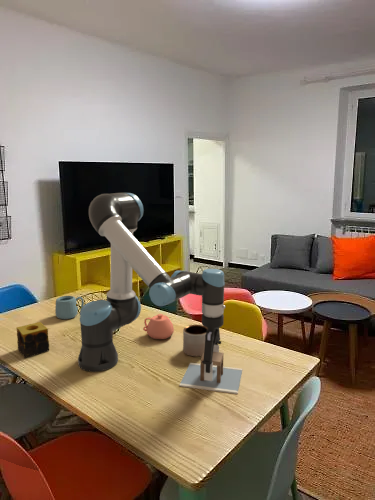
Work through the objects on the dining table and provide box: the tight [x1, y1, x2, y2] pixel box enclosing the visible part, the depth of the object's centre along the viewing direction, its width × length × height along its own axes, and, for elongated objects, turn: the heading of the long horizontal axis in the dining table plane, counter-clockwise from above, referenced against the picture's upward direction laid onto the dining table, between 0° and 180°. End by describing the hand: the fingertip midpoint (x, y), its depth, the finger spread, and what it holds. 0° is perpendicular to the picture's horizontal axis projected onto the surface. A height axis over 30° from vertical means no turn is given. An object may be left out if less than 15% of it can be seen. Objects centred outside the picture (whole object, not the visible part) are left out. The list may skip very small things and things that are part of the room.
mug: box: [54, 295, 85, 320], centre depth 194 cm, size 15×11×10 cm
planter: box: [182, 324, 207, 358], centre depth 154 cm, size 11×11×10 cm
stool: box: [200, 351, 225, 383], centre depth 134 cm, size 7×7×8 cm
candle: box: [16, 321, 50, 359], centre depth 156 cm, size 10×10×10 cm
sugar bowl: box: [142, 313, 175, 340], centre depth 170 cm, size 12×14×10 cm
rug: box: [178, 362, 243, 395], centre depth 135 cm, size 20×16×1 cm
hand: (211, 370), depth 134 cm, fingers open, 13 cm apart
